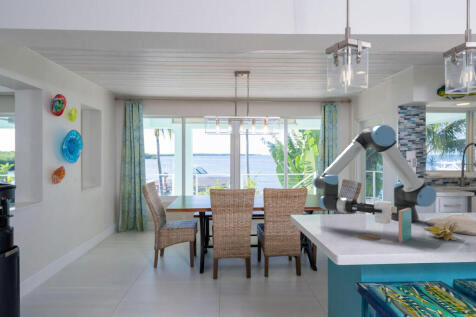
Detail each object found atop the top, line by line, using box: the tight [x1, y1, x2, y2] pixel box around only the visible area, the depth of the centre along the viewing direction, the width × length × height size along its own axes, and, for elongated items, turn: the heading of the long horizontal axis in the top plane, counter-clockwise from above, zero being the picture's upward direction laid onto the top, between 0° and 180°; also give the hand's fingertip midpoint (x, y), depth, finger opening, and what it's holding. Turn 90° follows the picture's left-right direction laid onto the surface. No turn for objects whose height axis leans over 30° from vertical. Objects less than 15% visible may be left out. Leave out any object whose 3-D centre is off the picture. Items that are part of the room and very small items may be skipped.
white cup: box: [373, 200, 393, 224], centre depth 152 cm, size 8×8×10 cm
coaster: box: [355, 233, 382, 241], centre depth 150 cm, size 11×11×1 cm
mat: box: [392, 235, 446, 250], centre depth 141 cm, size 16×17×1 cm
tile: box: [398, 208, 412, 244], centre depth 144 cm, size 12×2×14 cm, turn 134°
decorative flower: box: [423, 220, 461, 241], centre depth 149 cm, size 15×11×10 cm
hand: (393, 211), depth 148 cm, fingers closed on white cup, 7 cm apart
